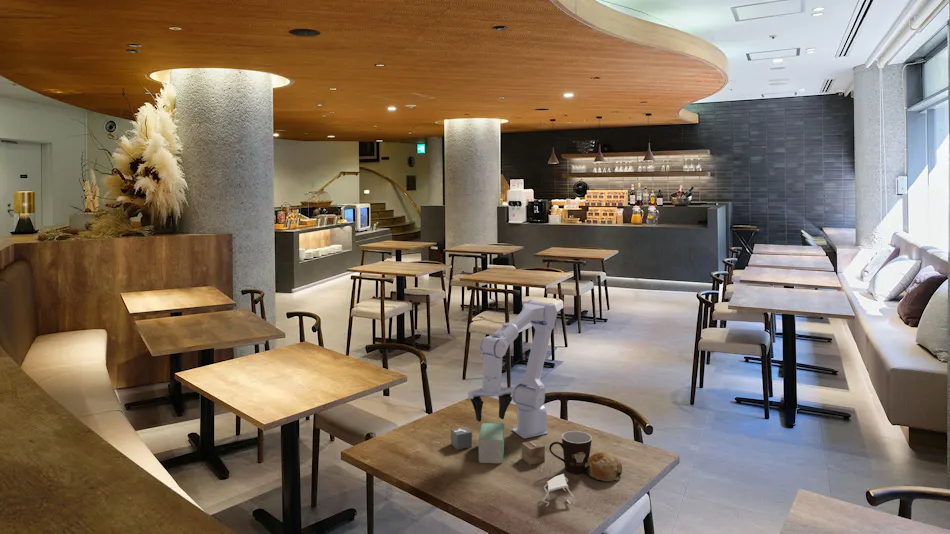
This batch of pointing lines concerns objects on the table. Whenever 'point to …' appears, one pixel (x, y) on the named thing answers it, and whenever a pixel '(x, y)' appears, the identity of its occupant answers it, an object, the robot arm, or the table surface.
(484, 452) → the box
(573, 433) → the coffee mug
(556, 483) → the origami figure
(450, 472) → the table surface
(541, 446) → the brown cardboard cube
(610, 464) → the bread roll
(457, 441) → the charcoal cube
